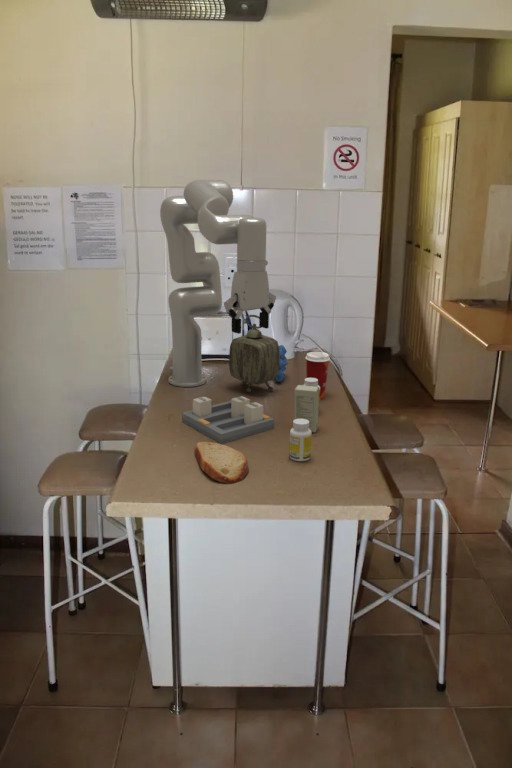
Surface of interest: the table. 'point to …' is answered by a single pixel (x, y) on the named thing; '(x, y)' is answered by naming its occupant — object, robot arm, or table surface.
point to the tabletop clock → (254, 357)
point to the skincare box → (307, 405)
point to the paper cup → (318, 369)
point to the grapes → (281, 363)
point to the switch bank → (225, 424)
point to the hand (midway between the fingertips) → (250, 330)
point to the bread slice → (221, 462)
